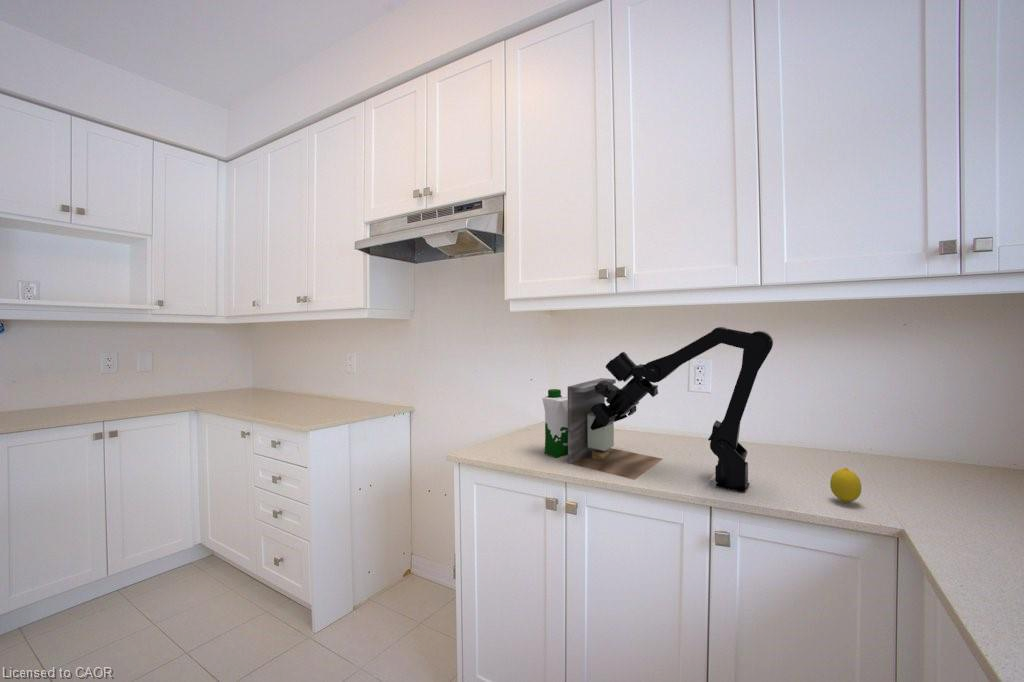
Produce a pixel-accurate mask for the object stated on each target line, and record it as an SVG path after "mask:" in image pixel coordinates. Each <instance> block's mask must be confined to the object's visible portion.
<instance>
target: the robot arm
mask: <svg viewBox="0 0 1024 682" xmlns="http://www.w3.org/2000/svg"><path fill="white" fill-rule="evenodd" d="M720 344H723V345H727V346H729V347H730V346H731V347H734V348H739V349H742V350H743V351H742V359H741V360H742V361H741V368H740V371H739V374H738V376H737V380H736V383H735V386H734V388H733V392H732V394H731V397H730V400H729V404H728V405H727V409H726V411H725V415H724V416H723V417H724V418H723V419H722V421H719V420H715V421H714V423H713V425H712V430H711V433H710V435H709V437H708V439H707V440H708V441H710V442H709V449H710V450H711V452H712V453H713V454H714V455H715V456H716V457H717V458H718V460H717V464H716V465H715V468H714V469H715V472H714V473H715V474H714V475H715V478H714V481H715V482H716V483H715V487H717V488H720V489H721V488H722V489H725V490H730V491H733V492H738V493H743V494H744V493H745V492H747V490H748V488H749V487H750V482H749V462H748V461H746V460H747V454H748V450H747V449H746V448H745V447H744V446H743V445H742V444H741V443H740V442H739V439H740V438H739V437H740V430H741V421H742V418H743V415H744V413H745V410H746V407H747V404H748V402H749V397H750V395H751V393H752V389H753V387H754V385H755V384H754V383H755V381H756V378H757V376H758V373H759V370H760V368H762V366H763V364H764V362H765V361H766V359H767V357H768V356H769V354H770V353H771V351H772V349H773V345H774V339H773V337H772V336H771V335H770V334H769V333H768V332H766V331H762V330H757V331H753V332H746V331H743V330H742V331H741V330H738V329H730V328H727V327H725V326H718V327H715V328H714V329H712V330H711V331H710V332H709V333H706V334H705V335H702V336H701V337H700V338H698V339H696V340H694V341H692V342H691V343H689V344H687V345H685V346H684V347H682V348H680V349H678V350H677V351H674V352H673V353H671V354H668V355H664V356H661V357H660V358H657V359H654V360H651V361H648V362H646V363H645V364H642V363H640V364H636V363H634V361H633V360H632V359H631V358H630V357H629V356H628V353H626V352H625V351H622V352H620V353H619V354H618V355H617V356H615V357H614V358H613V359H610V360H609V361H608V363H607V364H606V365H605V369H606V370H607V371H608V372H609V373H610V374H611V375H612V376H613V377H614V379H616V381H618V382H624V383H626V382H627V381H628V380H629V381H628V382H627V383H626V384H624V386H622V387H621V388H619V387H618V386H616V385H615V384H612V383H610V382H608V381H606V380H604V381H600V382H599V383H598V384H597V385H596V386H595V388H596V389H595V392H596V393H599V394H600V395H602V396H604V397H605V403H598V404H595V405H594V406H593V407H592V408H591V412H592V413H593V414H594V415H595V419H594V421H593V423H592V425H591V427H590V428H591V429H592V430H595V429H598V428H602V427H605V426H608V425H610V424H612V422H613V421H614V423H615V422H618V421H621V420H624V419H626V418H628V417H630V416H632V415H634V413H636V412H637V405H639V403H640V401H641V400H642V399H643V398H644V397H645V396H647V394H649V395H650V396H651V397H652V398H655V396H657V395H658V394H659V391H658V388H659V385H658V384H657V385H656V383H660V382H662V380H665V379H666V378H668V376H670V375H671V374H673V373H674V372H675V371H676V370H677V369H679V367H680V366H682V365H684V364H685V363H687V362H689V361H691V360H693V359H694V358H696V357H698V356H700V355H702V354H703V353H706V352H707V351H709V350H711V349H712V348H714V347H716V346H719V345H720ZM652 383H653V384H652ZM606 403H607V404H608V405H607V404H606Z"/></svg>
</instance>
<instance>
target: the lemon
mask: <svg viewBox="0 0 1024 682" xmlns="http://www.w3.org/2000/svg"><path fill="white" fill-rule="evenodd" d="M829 484H830V487H829V488H830V489H831V492H832V494H833V495H834V496H835V497H836V498H837V499H839V500H840V501H841V502H842V503H844V502H846V503H845V504H847V503H849V502H853V501H856V500H858V498H859V497H860V496H861V493H862V482H861V480H860V477H859V476H858V475H857V474H856V473H855V472H854V471H852V470H850V469H849V468H847V467H843V468H841V469H837V470H835V471H834V472H833V473H832V474H831V477H830V482H829Z"/></svg>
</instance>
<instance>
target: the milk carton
mask: <svg viewBox="0 0 1024 682" xmlns="http://www.w3.org/2000/svg"><path fill="white" fill-rule="evenodd" d="M547 394H548V395H547V396H543V397H542V404H543V408H544V409H543V410H544V425H545V426H544V432H545V433H544V434H545V436H544V438H545V439H544V455H547V456H550V457H554V458H557V459H559V458H561V457H564V456H568V395H564V394H562V390H561V389H557V388H553V389H548V390H547Z"/></svg>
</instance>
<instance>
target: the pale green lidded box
mask: <svg viewBox="0 0 1024 682" xmlns="http://www.w3.org/2000/svg"><path fill="white" fill-rule="evenodd" d="M587 418H588V447H589V448H594V449H598V450H603V451H606V450H607V449H609V448H613V447H615V441H614V440H615V436H614V435H615V434H614V433H615V430H614V429H615V427H614V426H615V424H614V423H615V422H614V421H613V422H612V424H610V425H608V426H605V427H602V428H598V429H595V430H592V429H591V428H590V427H591V425H592V423H593V421H594V419H595V415H594V414H593V413H592V412H591V413H589V414H587Z"/></svg>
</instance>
